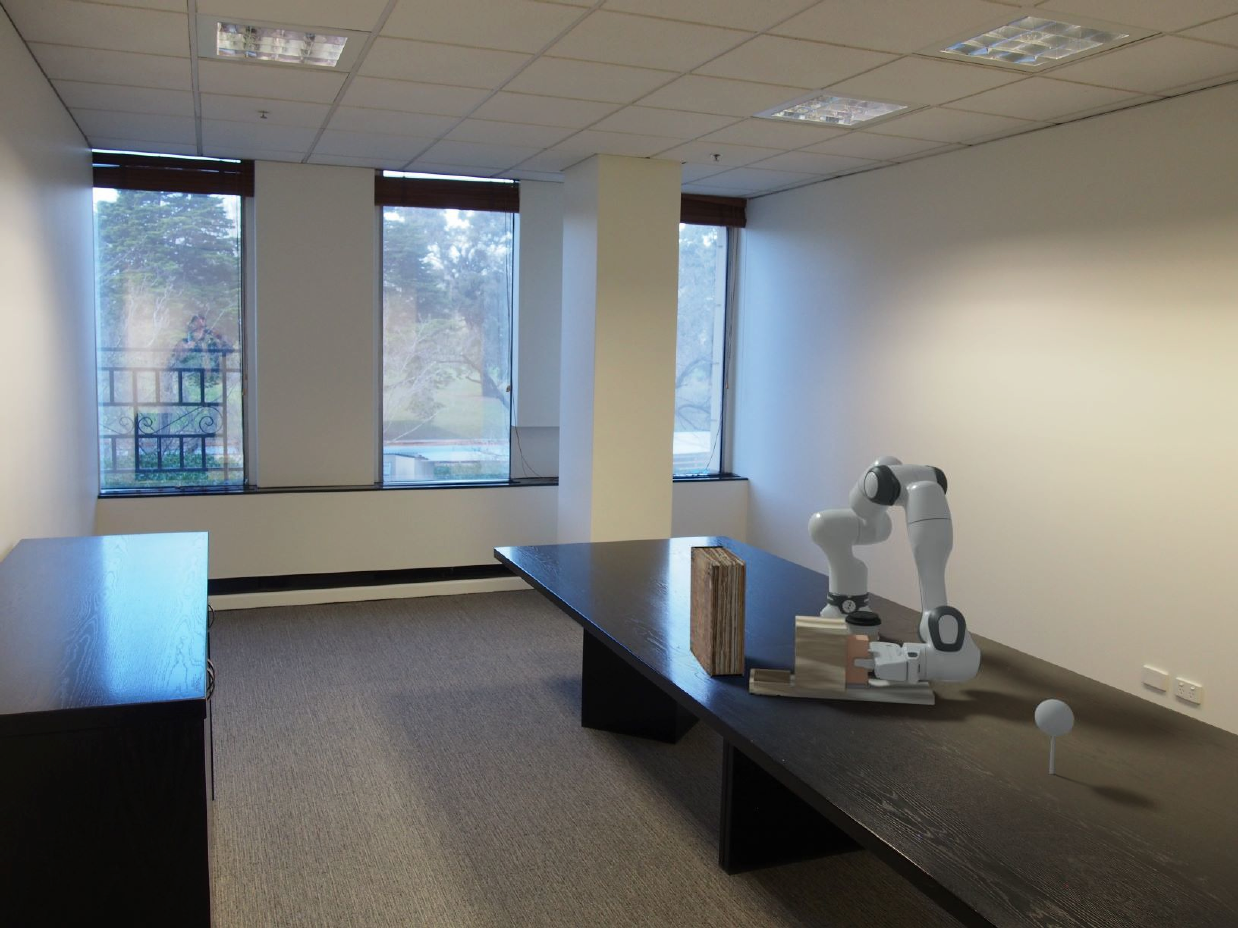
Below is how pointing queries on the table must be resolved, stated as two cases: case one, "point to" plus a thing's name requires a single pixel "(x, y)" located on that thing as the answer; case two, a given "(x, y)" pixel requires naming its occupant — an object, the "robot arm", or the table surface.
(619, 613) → the table surface
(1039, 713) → the lollipop
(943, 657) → the robot arm
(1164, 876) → the table surface
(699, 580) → the book
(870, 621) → the coffee cup
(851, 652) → the block
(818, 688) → the tunnel track
